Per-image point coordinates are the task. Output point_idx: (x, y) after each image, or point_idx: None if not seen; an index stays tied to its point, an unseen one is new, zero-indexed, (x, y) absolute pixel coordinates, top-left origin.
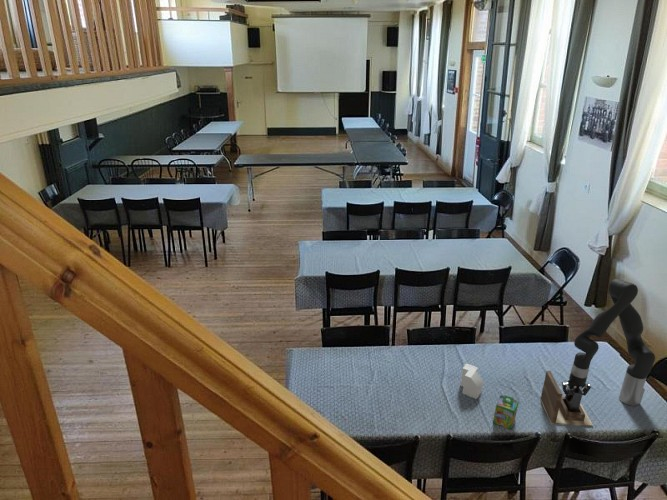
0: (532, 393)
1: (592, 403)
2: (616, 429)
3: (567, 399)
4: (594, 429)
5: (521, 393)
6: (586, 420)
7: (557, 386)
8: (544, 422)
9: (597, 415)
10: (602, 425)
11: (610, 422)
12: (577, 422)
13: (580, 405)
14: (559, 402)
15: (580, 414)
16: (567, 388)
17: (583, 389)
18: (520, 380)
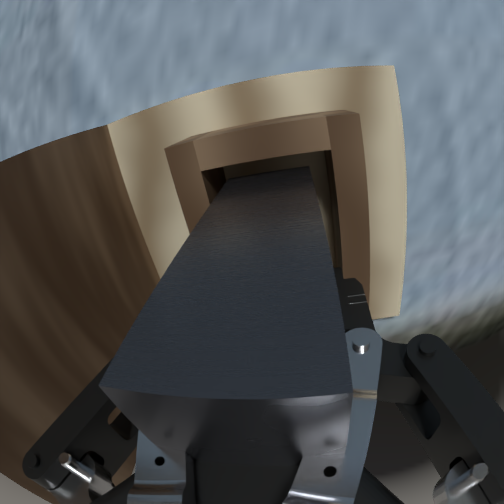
0: (56, 86)
1: (475, 78)
2: (495, 294)
3: None
4: (395, 322)
5: (17, 121)
6: (377, 288)
7: (42, 496)
8: None
9: (468, 203)
10: (452, 284)
11: (500, 251)
12: None
13: (389, 128)
14: (129, 462)
15: None
16: (167, 283)
17: (434, 404)
18: (19, 9)
